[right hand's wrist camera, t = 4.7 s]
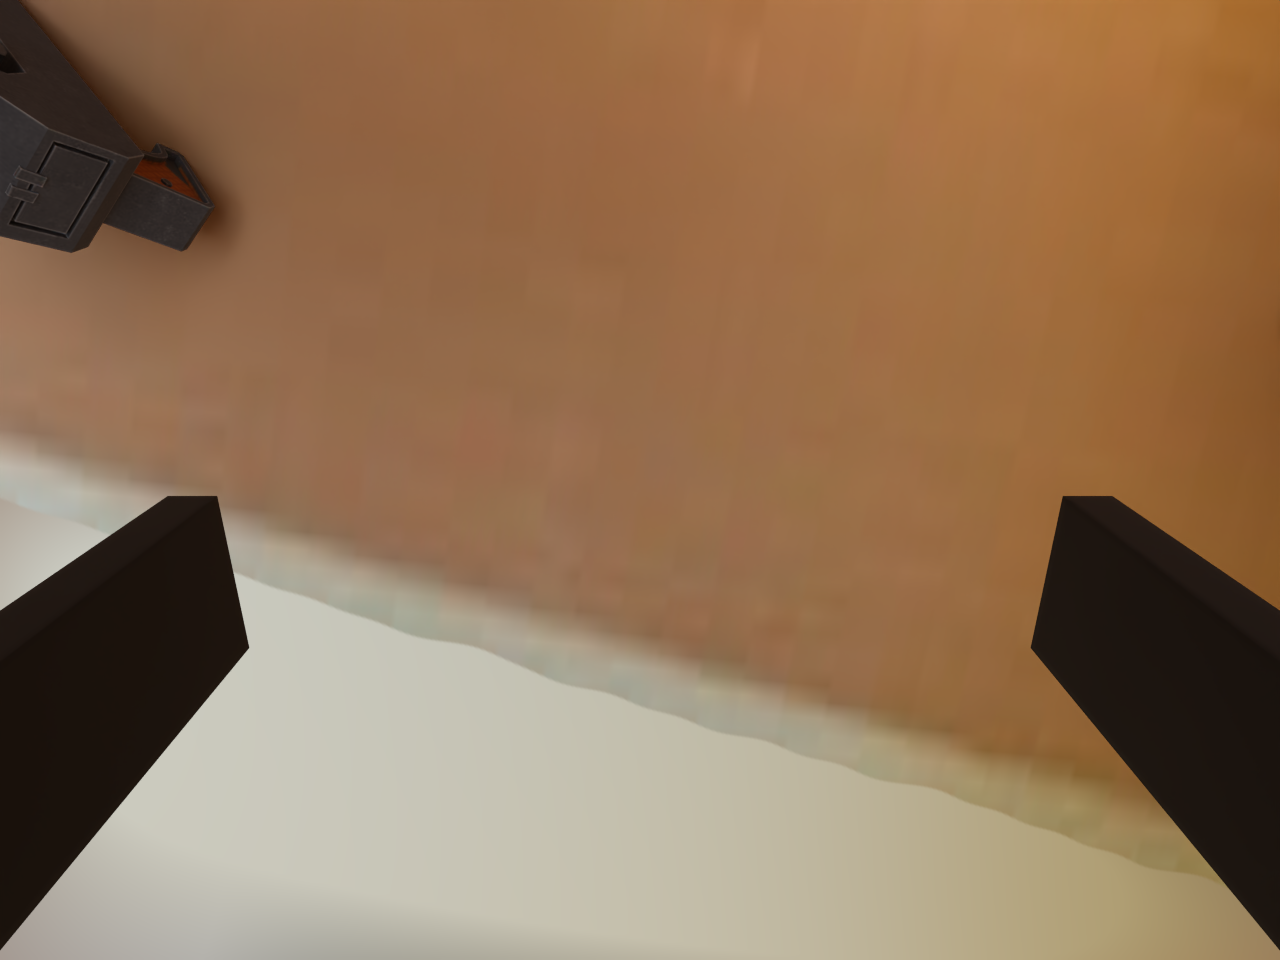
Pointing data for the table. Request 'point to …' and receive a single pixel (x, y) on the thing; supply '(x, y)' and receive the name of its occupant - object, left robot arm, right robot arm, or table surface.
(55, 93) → the tool
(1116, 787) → the table surface
